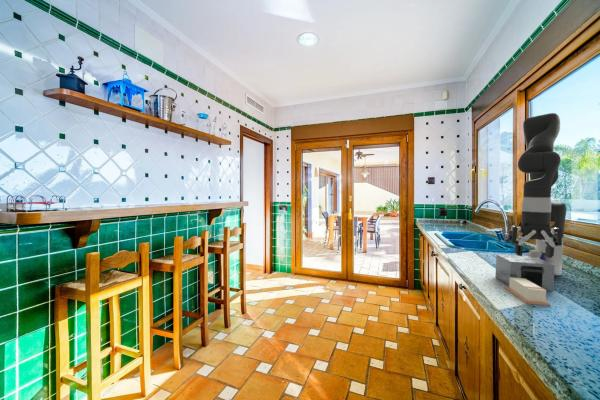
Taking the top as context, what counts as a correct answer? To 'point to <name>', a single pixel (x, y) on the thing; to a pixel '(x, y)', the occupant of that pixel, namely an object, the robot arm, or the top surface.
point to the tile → (526, 299)
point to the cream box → (527, 289)
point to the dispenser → (525, 270)
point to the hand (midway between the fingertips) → (533, 256)
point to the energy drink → (538, 254)
